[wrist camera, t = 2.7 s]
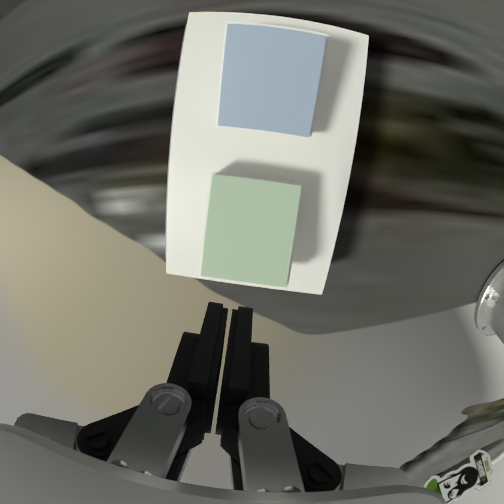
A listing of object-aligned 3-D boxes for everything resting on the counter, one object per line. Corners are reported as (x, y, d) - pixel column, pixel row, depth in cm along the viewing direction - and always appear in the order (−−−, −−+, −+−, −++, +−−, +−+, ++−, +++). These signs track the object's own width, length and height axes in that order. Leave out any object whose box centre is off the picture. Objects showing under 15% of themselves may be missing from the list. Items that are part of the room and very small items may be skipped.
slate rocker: (325, 36, 14) (330, 33, 12) (308, 133, 18) (311, 141, 17) (229, 24, 14) (224, 20, 12) (220, 121, 18) (214, 128, 17)
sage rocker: (300, 185, 20) (304, 183, 18) (285, 282, 21) (288, 290, 19) (214, 173, 20) (209, 170, 18) (203, 271, 21) (197, 278, 19)
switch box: (351, 50, 20) (372, 32, 14) (313, 267, 28) (323, 300, 23) (200, 31, 20) (182, 8, 14) (179, 249, 28) (160, 278, 23)
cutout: (499, 475, 37) (427, 520, 43) (499, 476, 38) (428, 520, 43) (482, 442, 51) (415, 485, 57) (482, 444, 52) (417, 486, 57)
